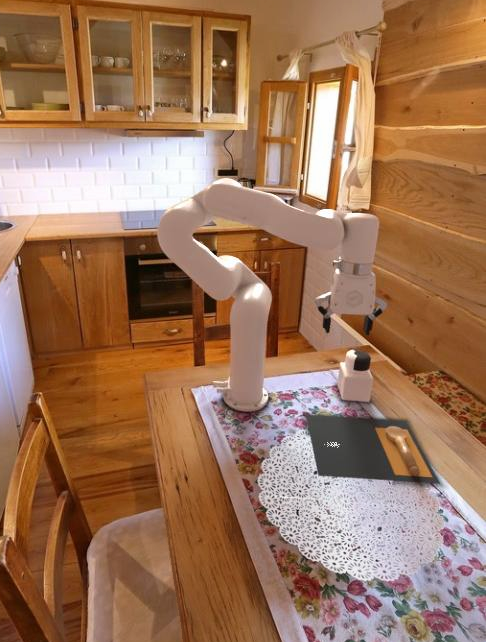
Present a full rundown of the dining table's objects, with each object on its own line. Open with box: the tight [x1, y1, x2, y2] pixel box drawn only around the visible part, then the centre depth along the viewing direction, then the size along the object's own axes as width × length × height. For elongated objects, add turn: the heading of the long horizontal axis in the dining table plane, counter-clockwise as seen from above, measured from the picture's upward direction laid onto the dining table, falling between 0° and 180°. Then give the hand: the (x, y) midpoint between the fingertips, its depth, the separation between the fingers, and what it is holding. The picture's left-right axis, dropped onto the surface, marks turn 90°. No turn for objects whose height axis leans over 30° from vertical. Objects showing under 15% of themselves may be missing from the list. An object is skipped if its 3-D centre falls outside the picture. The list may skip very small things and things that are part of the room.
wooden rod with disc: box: [386, 426, 420, 476], centre depth 95 cm, size 15×5×2 cm, turn 176°
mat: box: [305, 414, 441, 485], centre depth 98 cm, size 26×20×1 cm
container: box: [336, 349, 374, 403], centre depth 115 cm, size 8×8×13 cm
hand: (346, 331), depth 101 cm, fingers open, 9 cm apart
